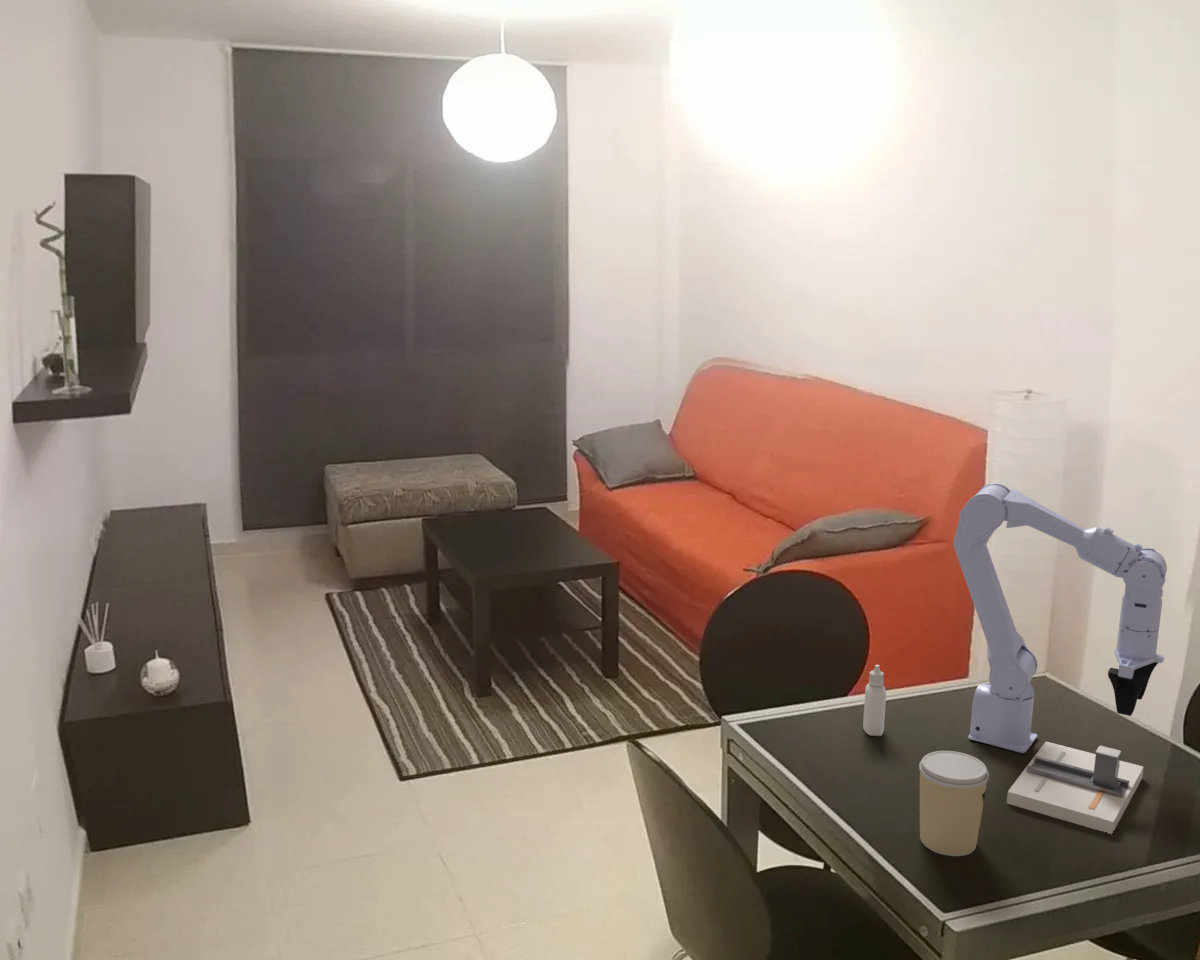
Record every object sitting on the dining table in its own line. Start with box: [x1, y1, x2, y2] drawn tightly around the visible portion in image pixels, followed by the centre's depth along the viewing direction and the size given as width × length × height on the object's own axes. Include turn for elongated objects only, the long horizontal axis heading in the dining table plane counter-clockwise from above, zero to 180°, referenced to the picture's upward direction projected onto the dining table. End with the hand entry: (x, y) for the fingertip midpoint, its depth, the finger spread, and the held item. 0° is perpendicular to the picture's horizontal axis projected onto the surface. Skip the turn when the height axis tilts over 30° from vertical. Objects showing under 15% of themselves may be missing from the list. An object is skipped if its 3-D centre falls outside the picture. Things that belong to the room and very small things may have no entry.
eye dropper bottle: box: [862, 664, 887, 737], centre depth 194 cm, size 4×6×12 cm
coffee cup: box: [918, 750, 990, 857], centre depth 159 cm, size 9×9×12 cm
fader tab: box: [1089, 745, 1122, 790], centre depth 172 cm, size 4×2×6 cm, turn 54°
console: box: [1006, 741, 1144, 835], centre depth 175 cm, size 15×21×3 cm
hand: (1129, 705), depth 181 cm, fingers open, 7 cm apart
